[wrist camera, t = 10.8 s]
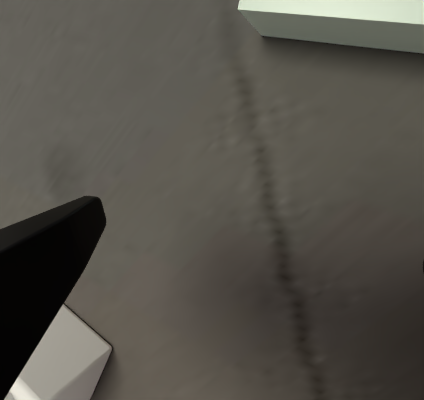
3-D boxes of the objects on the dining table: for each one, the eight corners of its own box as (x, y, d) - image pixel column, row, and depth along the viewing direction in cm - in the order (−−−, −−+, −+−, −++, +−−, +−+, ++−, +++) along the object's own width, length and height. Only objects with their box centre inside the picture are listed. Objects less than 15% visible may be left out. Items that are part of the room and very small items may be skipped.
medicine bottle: (59, 297, 29) (-113, 386, 19) (114, 346, 27) (-42, 477, 17) (41, 350, 32) (-120, 455, 21) (91, 398, 30) (-58, 542, 19)
